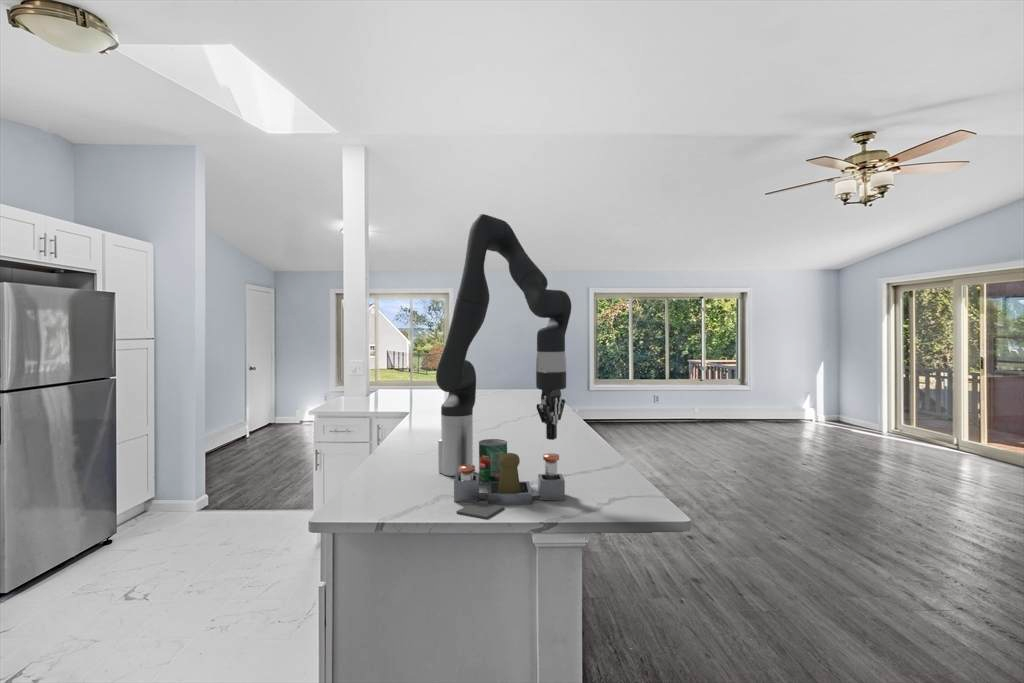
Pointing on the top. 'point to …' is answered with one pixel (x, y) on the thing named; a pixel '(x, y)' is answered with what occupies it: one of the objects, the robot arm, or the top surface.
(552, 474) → the plunger
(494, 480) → the canned tomato
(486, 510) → the pad
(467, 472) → the plunger
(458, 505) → the top surface
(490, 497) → the housing
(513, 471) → the cork
